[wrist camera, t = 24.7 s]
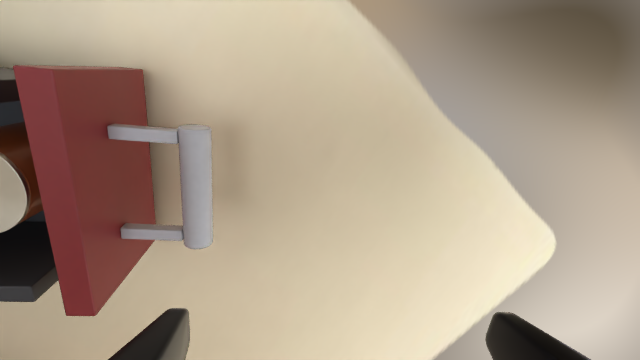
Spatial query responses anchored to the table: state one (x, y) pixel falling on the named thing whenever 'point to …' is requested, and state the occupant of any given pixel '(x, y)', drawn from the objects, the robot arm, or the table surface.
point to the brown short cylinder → (17, 177)
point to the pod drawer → (94, 183)
